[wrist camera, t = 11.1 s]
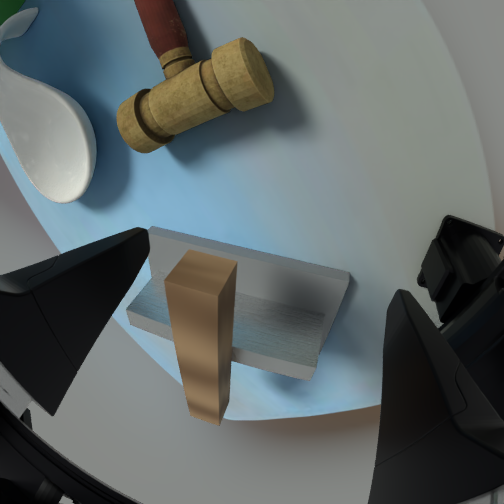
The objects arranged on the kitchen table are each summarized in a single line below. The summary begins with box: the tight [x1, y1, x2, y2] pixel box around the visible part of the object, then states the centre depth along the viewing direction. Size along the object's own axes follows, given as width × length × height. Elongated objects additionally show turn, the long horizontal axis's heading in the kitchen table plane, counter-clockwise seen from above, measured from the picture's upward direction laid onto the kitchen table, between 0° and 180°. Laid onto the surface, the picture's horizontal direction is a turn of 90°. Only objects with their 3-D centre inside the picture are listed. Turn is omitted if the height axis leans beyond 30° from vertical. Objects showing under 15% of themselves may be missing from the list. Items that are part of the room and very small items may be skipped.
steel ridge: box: [126, 270, 325, 381], centre depth 24 cm, size 16×2×6 cm, turn 85°
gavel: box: [117, 0, 274, 153], centre depth 14 cm, size 21×5×10 cm
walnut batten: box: [164, 249, 238, 425], centre depth 21 cm, size 18×3×3 cm, turn 175°
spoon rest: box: [0, 7, 97, 203], centre depth 18 cm, size 24×12×7 cm, turn 25°
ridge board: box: [148, 226, 349, 354], centre depth 27 cm, size 18×10×1 cm, turn 85°
